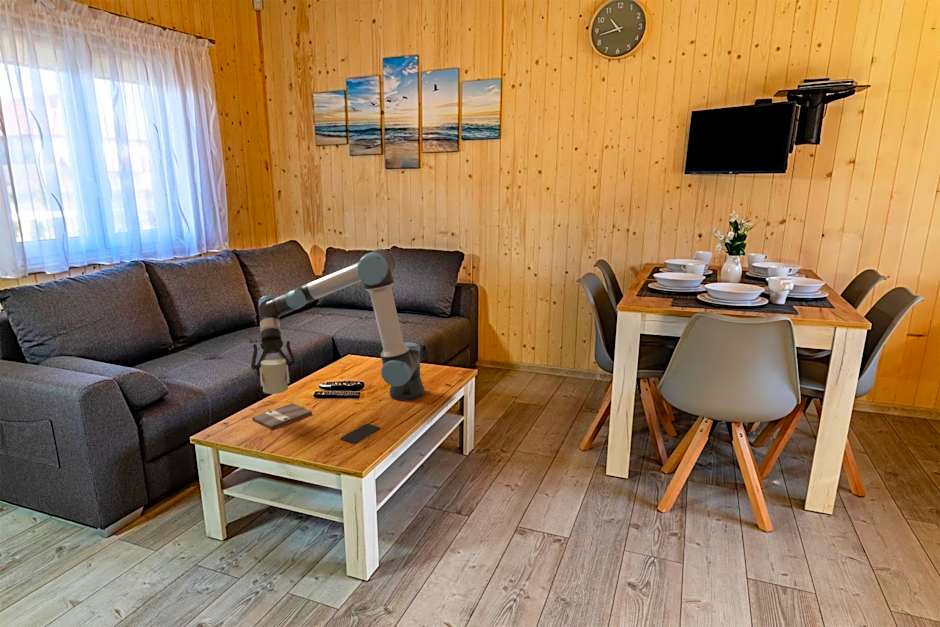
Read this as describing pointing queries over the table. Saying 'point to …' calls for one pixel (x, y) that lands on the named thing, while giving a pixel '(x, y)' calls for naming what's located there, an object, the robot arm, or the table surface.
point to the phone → (360, 433)
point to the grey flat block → (281, 415)
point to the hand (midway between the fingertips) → (275, 383)
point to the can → (274, 375)
